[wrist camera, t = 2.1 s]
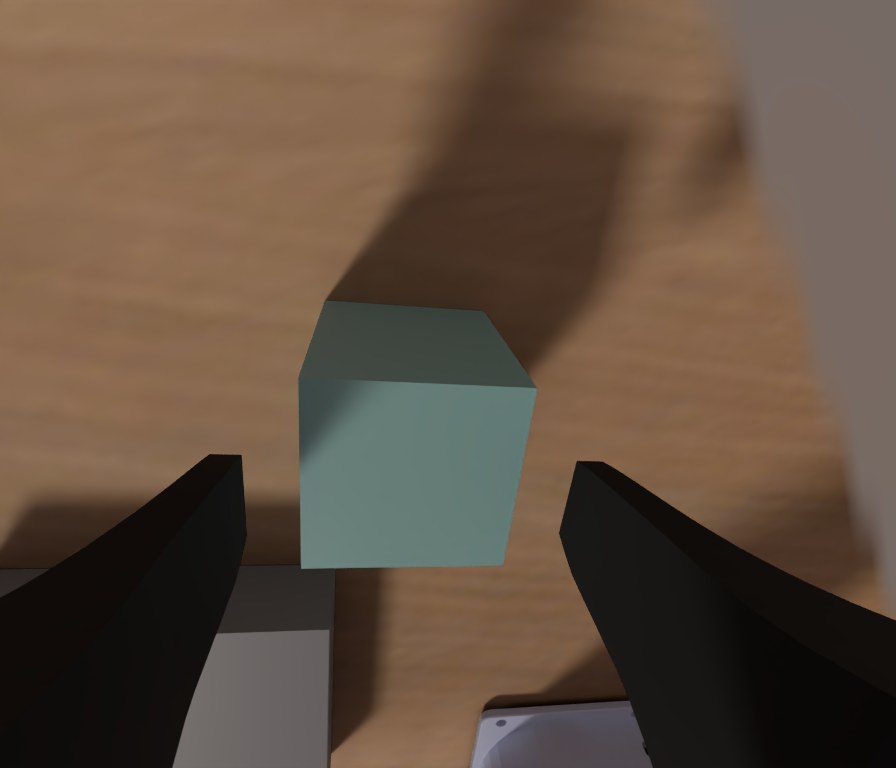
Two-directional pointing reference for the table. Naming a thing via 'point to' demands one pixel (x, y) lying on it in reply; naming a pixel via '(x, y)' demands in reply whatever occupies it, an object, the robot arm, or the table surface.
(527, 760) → the robot arm
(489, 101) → the table surface
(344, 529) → the teal block
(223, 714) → the plinth
